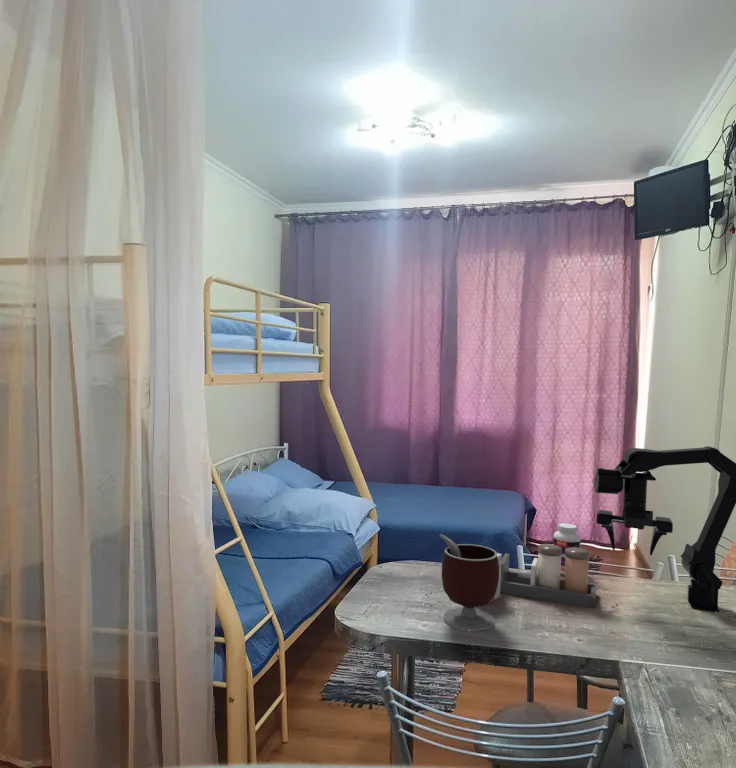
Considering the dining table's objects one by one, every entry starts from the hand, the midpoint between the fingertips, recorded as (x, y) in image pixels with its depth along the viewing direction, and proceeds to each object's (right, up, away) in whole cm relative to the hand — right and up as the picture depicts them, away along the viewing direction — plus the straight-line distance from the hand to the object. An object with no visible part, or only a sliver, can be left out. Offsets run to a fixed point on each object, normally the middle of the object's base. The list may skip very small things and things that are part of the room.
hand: (632, 552), depth 166 cm
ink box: (-40, -12, -1) cm, 42 cm away
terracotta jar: (-15, -13, +1) cm, 20 cm away
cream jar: (-22, -13, +4) cm, 25 cm away
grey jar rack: (-22, -12, +4) cm, 26 cm away
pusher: (-27, -12, +6) cm, 30 cm away
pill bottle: (-11, -12, +22) cm, 27 cm away
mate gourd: (-48, -13, -15) cm, 51 cm away
